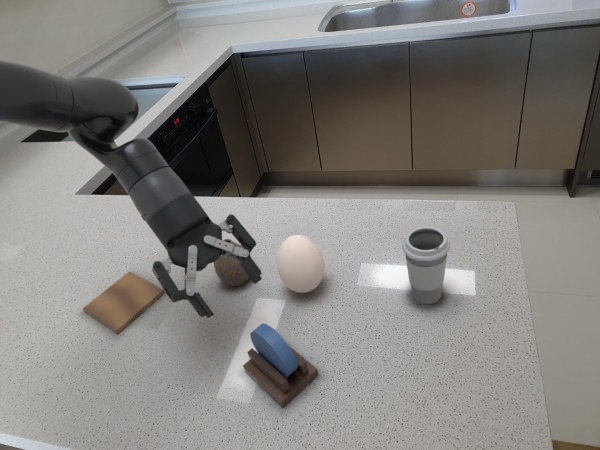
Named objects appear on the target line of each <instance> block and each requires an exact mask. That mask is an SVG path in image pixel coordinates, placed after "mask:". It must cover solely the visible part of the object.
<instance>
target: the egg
mask: <svg viewBox="0 0 600 450" xmlns="http://www.w3.org/2000/svg"><path fill="white" fill-rule="evenodd" d="M276 269H277V273H278V276H279V278H280V280H281V281H282V283H283V284H284V285H285V286H286V287H287V288H288V289H289V290H291V291H293V292H295V293H299V294H304V293H306V294H307V293H309V292H312V291H313V290H315V289H317V287H318V286H319V285H320V284H321V282H322V280H323V278H324V274H325V261H324V256H323V254H322V252H321V249H320V248H319V247H318V245H316V243H315V242H314V241H313V240H312V239H310V237H307V236H305V235H302V234H293V235H290V236H288V237H286V239H284V240H283V241H282V243H281V245H280V247H279V249H278V252H277V257H276Z"/></svg>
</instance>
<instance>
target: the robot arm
mask: <svg viewBox="0 0 600 450" xmlns="http://www.w3.org/2000/svg"><path fill="white" fill-rule="evenodd" d="M139 108H140V107H139V102H138V100H137V98H136V96H135V94H134V93H133V92H132V91H131V90H130V88H128V87H127V86H125V85H124V84H122V83H121V82H119V81H116V80H114V79H111V78H107V77H101V76H62V75H59V74H55V73H53V72H50V71H46V70H44V69H41V68H36V67H34V66H30V65H26V64H23V63H18V62H13V61H8V60H2V59H0V123H3V124H9V125H14V126H20V127H25V128H31V129H36V130H41V131H47V132H54V133H67V134H68V135H69V137H70V138H71V139H72V141H74V142H75V144H77V145H78V146H79V147H81V148H82V149H83V150H84V151H86V152H87V153H89V154H90V155H91V156H93V157H94V158H95V159H96V160H98V161H99V162H100V163H101V164H102V165H103V166H104V167H105V168H106V169H108V170H109V171H110V172H111V174H113V175H114V177H115V178H116V179H117V181H118V183H119V184H120V185H121V186H122V187H123V189H124V191H125V192H126V194H127V195H128V196H129V198H130V199H131V201H132V203H133V205H134V207H135V209H136V210H137V212H138V213H139V214H140V217H141V219H142V220H143V221H144V222H145V223H146V224H147V226H148V227H149V228H150V230H151V231H152V233H154V235H155V237H156V238H157V239H158V240H159V242H160V243H161V245H162V246H163V248H164V249H165V251H166V252H167V255H168V256H166V258H164V259H163V258H162V260H156V261H154V262H153V263H152V266H151V271H152V273H153V274H154V276H155V278H156V279H157V281H158V282H159V284H160V286H161V287H162V289H163V290H164V292H165V293H166V295H167V296H168V298H169V300H170V301H171V302H172V303H177V302H181V301H184V300H185V301H188V302H189V303H190V305H191V306H192V308H193V309H194V310H195V312H196V314H197V315H198V316H199V317H201V318H204V317H206V319H208V320H209V319H210V318H211V317H213V316H214V312H213V311H212V309H211V308H210V306H209V305H208V303H207V302H206V301H205V300H204V298H203V297H202V296H201V294H200V293H199V292H196V281H197V272H202V271H203V270H204V269H206V267H207V266H208V265H210V264H214V262H215V261H216V260H218V258H219V257H220V255H221V256H224V257H229V258H233V259H236V260H239V261H241V263H240V265H241V266H242V268H243V269H244V270H245V272H246V273H247V274H248V276H249V279H250V280H251V281H252V283H253V284H257V283H259V282H260V281H262V276H261V275H262V270H261V269H260V268H259V266H258V265H257V263H256V261H255V260H254V259H253V258H252V257H251V253H252V252H253V249H254V248H255V247H256V245H257V242H256V240H255V239H254V237H253V236H252V235H251V234H250V233H249V231H248V230H247V228H245V227H244V225H243V224H242V223H241V222H240V220H238V218H237V217H236V216H235V214H232V213H230V214H228V215H227V216H226V217H225V219H224V220H223V221H221V222H219V223H218V224H217V223H216V222H215V223H214V221H212V220H211V218H210V217H209V215H208V213H207V212H206V211H205V210H204V209H203V207H202V206H201V204H200V202H199V201H198V200H197V198H196V197H195V196H194V194H193V193H192V192H191V191H190V189H189V187H188V186H187V185H186V184H185V182H184V181H183V179H182V178H181V177H180V176H179V175H178V174H177V173H176V172H175V171H174V170H173V169H172V168H171V167H170V165H169V163H168V162H167V161H166V159H165V158H164V156H163V155H162V154H161V153H160V151H159V150H158V148H157V147H156V146H155V144H153V142H151V140H150V139H148V138H145V137H138V138H134V139H130V140H129V141H126V142H125V143H122V144H121V145H118V144H117V142H116V141H115V140H116V139H117V138H118V137H119V136H120V135H122V133H124V131H126V130H127V129H128V128H129V127H131V125H132V124H133V123H134V122H135V120H136V119H137V118H138V116H139V110H140V109H139ZM223 232H225V233H226V234H231V235H232V236H233V237H234V239H236V241H237V242H238V244H240V245H241V246H242V247H243V248H240V247H237V246H235V245H234V244H232V243H229V242H226V241H223V240H224V239H223ZM225 246H226V247H225ZM171 264H172V265H175V266H177V267H181V268H182V269H184V271H183V272H184V273H183V282H184V283H183V286H184V287H183V289H179V287H178V286H177V285H176V283H175V282H174V280H173V278H172V277H171V276H170V274H171V272H172V268H171Z"/></svg>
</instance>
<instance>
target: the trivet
mask: <svg viewBox="0 0 600 450" xmlns="http://www.w3.org/2000/svg"><path fill="white" fill-rule="evenodd" d="M165 293H166V292H165V290H164V289H163V288H161V287H160V286H158V285H155V284H153V283H151V282H150V281H148V280H146V279H144V278H142V277H141V276H138V275H136V274H135V273H133V272H130V271H128V272H127V273H125V274H124V275H123V276H122V277H120V278H119V279H118V280H117V281H115V282H113V284H112V285H111V286H109V287H107V288H106V289H105V290H104V291H102V292H101V293H100V294H98V296H96V297H95V298H94V299H93V300H91V301H90V302H88V304H86V305H85V306H84V307H82V310H83V312H85V313H86V314H88V315H89V316H90V317H92V318H93V319H94V320H96V321H98V322H99V323H101V325H104V326H105V327H107V328H108V329H110V330H111V331H113V332H114V333H115V334H119V333H121V331H123V330H124V329H125V328H126V327H128V325H130V324H131V323H132V322H133V321H134V320H135V319H137V318H138V317H139V316H140V315H142V313H144V311H146V310H147V309H148V308H149V307H150V306H152V305H153V304H154V303H155V302H156V301H157V300H158V299H159V298H161V296H163V295H164V294H165Z"/></svg>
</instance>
